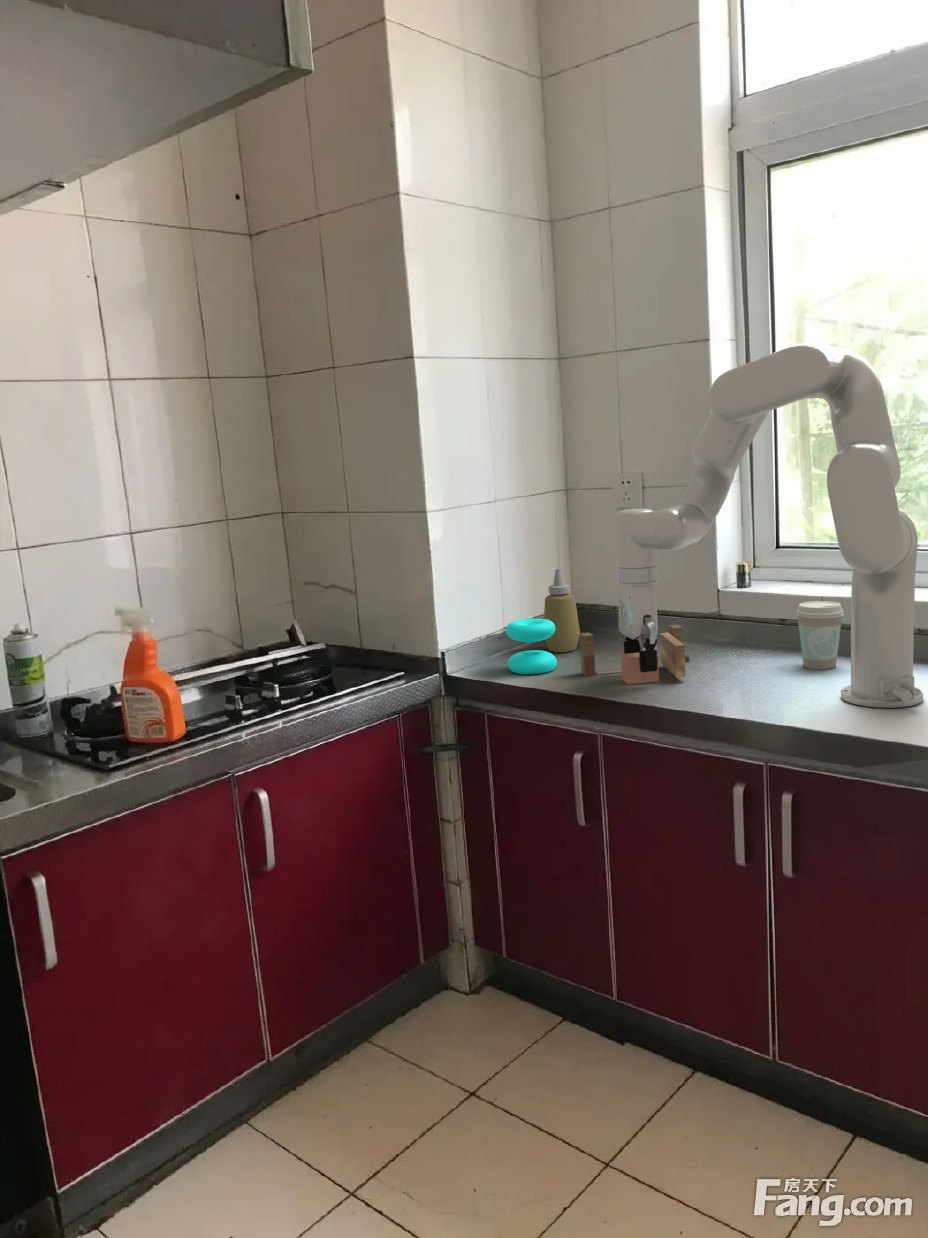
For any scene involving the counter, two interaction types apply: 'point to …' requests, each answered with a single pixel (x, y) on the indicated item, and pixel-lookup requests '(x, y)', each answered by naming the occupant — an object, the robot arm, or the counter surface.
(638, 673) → the salmon pink block
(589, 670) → the door frame
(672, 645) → the door
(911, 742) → the counter surface
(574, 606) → the squeeze bottle
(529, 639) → the donuts
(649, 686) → the counter surface
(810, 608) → the coffee cup
